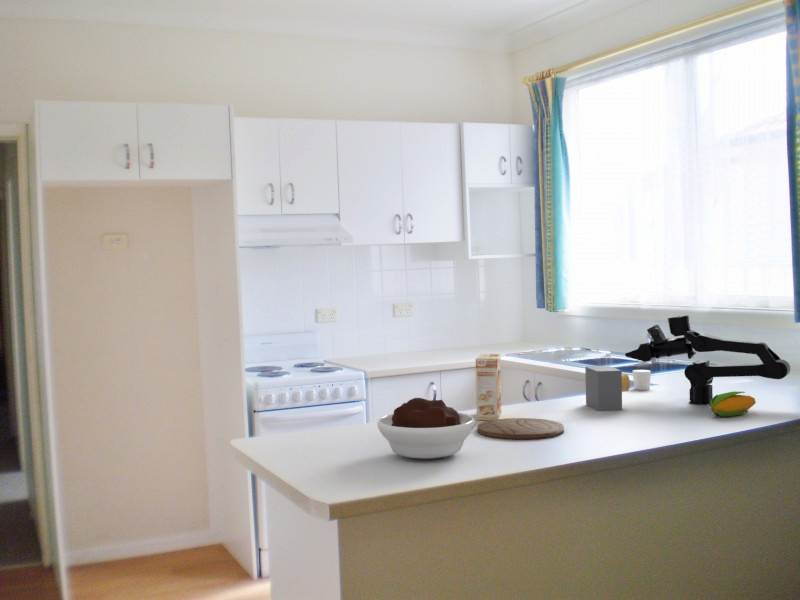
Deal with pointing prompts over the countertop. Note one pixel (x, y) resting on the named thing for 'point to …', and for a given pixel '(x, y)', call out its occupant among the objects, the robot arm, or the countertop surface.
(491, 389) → the coffeecake box
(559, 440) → the countertop surface
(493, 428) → the trivet
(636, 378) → the shot glass
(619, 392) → the block
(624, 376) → the button
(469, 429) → the bowl of chocolate pudding
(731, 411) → the corn
